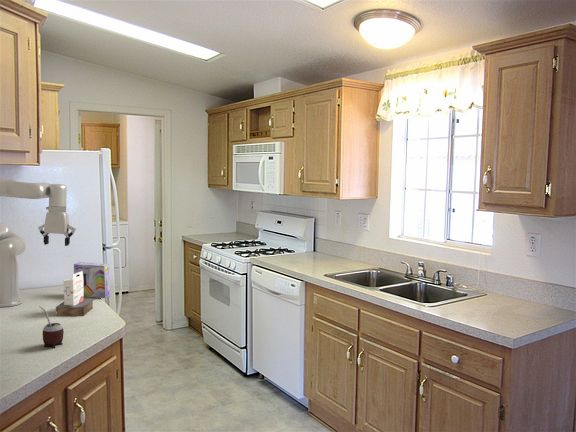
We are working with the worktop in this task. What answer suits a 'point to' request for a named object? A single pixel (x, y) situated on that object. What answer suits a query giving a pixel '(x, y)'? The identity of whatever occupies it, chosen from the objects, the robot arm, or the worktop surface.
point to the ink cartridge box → (74, 290)
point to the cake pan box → (94, 279)
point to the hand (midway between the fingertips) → (56, 244)
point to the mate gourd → (52, 333)
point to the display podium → (74, 309)
